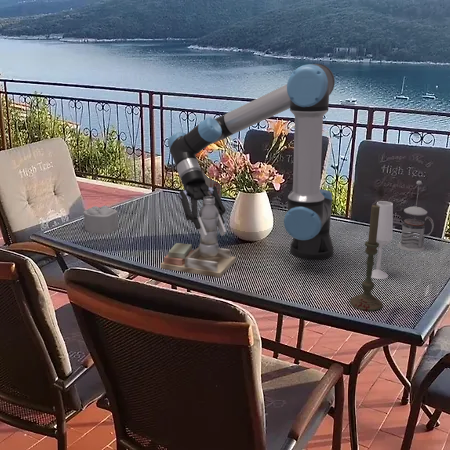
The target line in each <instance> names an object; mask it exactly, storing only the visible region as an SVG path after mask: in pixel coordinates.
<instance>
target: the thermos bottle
mask: <svg viewBox="0 0 450 450" xmlns="http://www.w3.org/2000/svg"><path fill="white" fill-rule="evenodd" d="M201 172H202V174H203V176H204V179H205V182H206V185H207V186H208V187H211V188H213V187H214V186H215V187H216V188H217V193H218V195H219V197H220V199H221V200H222V184H221V185H220V184H219V183H218V182H216V181H214V180H212V179H210V178H208V177H207V176H206V175H205V173H204V171H203V170H202V169H201ZM208 194H209V195H210V196H211V194H210V192H209V191H208ZM203 205H204V204H203V203H202V206H203Z"/></svg>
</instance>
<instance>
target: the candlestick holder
mask: <svg viewBox="0 0 450 450" xmlns="http://www.w3.org/2000/svg"><path fill="white" fill-rule="evenodd" d="M370 209H371V210H370V217H369V228H368V240H367V241H365V243H364V246H366V247H365V251H364V252H365V254H366V255H368V256H367V259H366V261H365V263H366V272H365V273H366V274H365V275H366V277H365V279H364V280H363V281H362V282H361V288H362V289H363V293H361V294H357V295H355V296H353V297H351V298H350V300H349V304H350V306H351V307H353V308H354V307H355V308H354V309H356V308H358V309H357V310H359V309H360V310H359V311H362V310H364V311H363V312H376V311H375V310H377V311H379V309H380V310H381V309H382V308H383V307H384V306H383V305H384V304H383V302H382V301H381V300H380V299H379V298H378V297H376V296H374V295H373V294H372V291H373V290H374V288H375V283H374V282H373V280H372V277H371V276H372V270H373V268H374V267H373V266H374V265H375V262H374V261H375V258H374V256H375V255H378V246H379V243H377V242H376V240H377V230H378V220H379V210H380V206H378V205H377V203H374V204H372V205H371V208H370Z"/></svg>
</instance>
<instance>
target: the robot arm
mask: <svg viewBox="0 0 450 450" xmlns="http://www.w3.org/2000/svg"><path fill="white" fill-rule="evenodd" d="M335 82H336V81H335V76H334V73H333V72H332V70H331V69H330V68H329V67H328V66H326V65H325V64H322V63H312V64H311V63H309V64H303V65H301V66H299V67H297V68H296V69H294V70H293V71H292V73H290V75H289V77H288V79H287V83H286V84H284V85H283V86H280V87H278V88H276V89H274V90H271V91H269V92H268V93H266V94H264V95H262V96H259V97H258V98H255V99H253V100H251V101H249V102H247V103H245V104H243V105H241V106H239V107H237V108H234V109H233V110H231V111H229V112H226V113H225V114H222V115H221V116H218V117H216V118H212V117H211V116H210V117H207V118H205V119H203V120H202V121H200V122H199V124H197V125H196V126H194V128H192V129H191V130H189V131H188V132H186V133H185V132H183V131H182V132H181V131H180V132H176V133H175V134H172V135H171V136H170V137H168V139H167V145H168V148H169V154H171V158H172V159H173V162H174V164H175V167H176V170H177V173H178V176H179V178H180V181H181V184H182V186H183V188H184V190H180V191H179V193H178V194H177V197H178V199H180V201H181V205H182V209H183V212H184V217H185V219H186V221H190V222H191V223H192V224H193V225H194V228H195V230H198V231H199V234H200V235H199V236H200V238H201V237H202V239H205V237H206V236H207V233H206V231H205V228H204V225H203V223H202V220H201V218H200V217H198V216H199V213H198V201H203V198H204V197H206V196H210V195H209V194H208V191H209V192H210V194H211V196H212V197H215V204H214V205H215V206H216V208H217V209H218V212H219V218H218V224H217V230H218V231H219V234H220V236H221V237H222V236H224V235H225V234H226V233H227V229H226V227H225V220H224V217H223V215H224V214H225V212H226V211H227V209H226V208H225V206H224V203H223V201H222V198H221V199H220V197H219V195H218V193H217V188H216V187H215V186H214V187H213V188H211V187H208V186H207V185H206V182H205V179H204V176H203V174H202V167H201V166H200V164H199V161H198V158H197V155H198V154H199V153H200V152H201V151H203V150H204V149H205V148H207V147H208V146H210V145H212V144H214V143H217V142H219V141H222V140H225V139H227V138H229V137H231V136H233V135H234V134H237V133H239V132H241V131H243V130H246V129H248V128H250V127H252V126H254V125H257V124H259V123H261V122H263V121H266V120H268V119H269V118H271V117H275V116H276V115H278V114H280V113H282V112H285V111H287V110H289V111H290V112H291V114H292V115H293V116H294V132H293V133H294V135H293V138H294V139H293V172H292V174H293V175H292V191H291V192H290V193H289V194H288V196H287V212H286V213H285V215H284V218H283V225H284V228H285V231H286V233H287V234H288V235H289V236H291V237H292V240H291V242H290V249H289V250H290V254H291V255H293V256H294V257H297V258H300V259H302V260H303V259H304V260H309V261H310V260H311V261H312V260H313V261H319V260H321V261H322V260H325V259H330V258H331V257H333V255H334V245H333V241H332V237H331V234H330V233H331V231H330V230H331V218H332V217H331V215H332V204H333V203H332V202H333V193H332V192H331V191H330V190H327V189H321V173H322V172H321V171H322V154H323V153H322V150H323V148H322V147H323V128H324V127H323V125H324V116H325V115H326V114H327V113H328V112H329V105H330V104H329V101H330V96H331V94H332V92H334V88H335ZM188 197H189V198H190V203H189V200H188ZM190 204H191V207H190Z"/></svg>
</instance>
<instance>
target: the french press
mask: <svg viewBox="0 0 450 450" xmlns="http://www.w3.org/2000/svg"><path fill="white" fill-rule="evenodd" d="M422 183H423V182H422V181H421V180H417V181H416V185H418V187H417V191H420V185H422ZM418 196H419V192H417V195H416V199H418ZM417 205H418V200H416V202H415V206H409V207H407V208H404V209H403V212H404V213H405V214H407V215H410V216H415V217H414V218H406V219H404V220H403V222H404V223H403V224H402V228H401V229H402V230H401V235H400V236H401V238H400V242H399V243H397V248H399V249H400V250H402V251H407V252H415V253H417V252H423V251H426V247H425V245H424V242H425V238H426V237H428V236H430V235H431V233H432V232H433V231H434V226H435V224H434V220H433V219H432V218H431V217H430V216H428V215H427V214H428V210H426V209H424V208H423V207H420V206H417ZM416 216H418V217H419V216H426V217H424V220H421V219H416ZM427 220H428V221H430V223H431V231H430V232H429V233H427V234H425V230H426V229H425V228H426V226H425V222H426V221H427Z"/></svg>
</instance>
